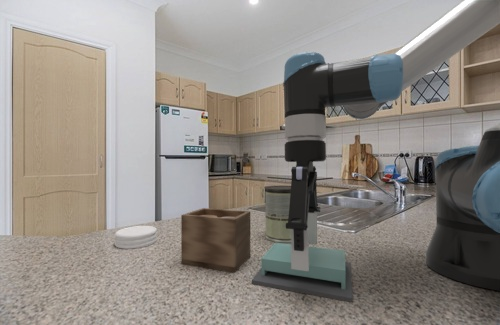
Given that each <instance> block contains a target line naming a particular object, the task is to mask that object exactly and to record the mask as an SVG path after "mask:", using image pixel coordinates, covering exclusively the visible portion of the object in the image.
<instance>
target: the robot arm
mask: <svg viewBox="0 0 500 325" xmlns="http://www.w3.org/2000/svg"><path fill="white" fill-rule="evenodd" d="M498 25H500V0H461V1H459V2H458V3H457V4H456V5H454V6H453V7H452V8H451V9H450V10H448V11H447V12H445V13H444V14H443V15H441V16H440V17H439V18H438V19H436V20H435V21H433V22H432V23H431V24H430V25H428V26H427V27H425V28H424V29H423V30H422V31H421V32H419V33H418V34H417V35H415V36H414V37H413V38H411V39H410V40H409V41H407V42H406V43H405V44H404V45H402V46H401V47H400V48H398V49H397V50H396V51H394V52H393V53H390V54H389V53H388V54H374V55H372V56H367V57H366V56H365V57H361V58H355V59H349V60H345V61H339V62H334V63H333V62H331V63H326V61H325V57H324V56H323V55H322V54H321V53H318V52H315V51H313V52H308V51H303V52H299V53H296V54H293V55H291V56H289V58H288V59H287V60H286V62H285V63H284V70H283V71H284V73H283V74H284V75H283V77H284V78H283V82H282V86H283V99H284V100H283V101H284V102H283V104H284V107H283V108H284V123H283V124H282V125H281V129H282V130H284V139H286V140H287V141H286V142H285V143H284V161H285V162H288V163H295V164H296V165H295V166H292V167H291V169H290V170H291V182H290V183H291V185H290V186H291V193H290V205H289V217H288V223H286V229H291V243H290V244H291V269H295V270H302V271H309V247H310V245H316V246H317V245H318V213H321V206H319V203H318V194H317V193H318V192H317V187H318V184H317V180H318V172H317V171H316V170H317V168H316V165H314V164H313V163H315V162H317V163H319V162H325V161H326V160H327V148H326V147H327V143H326V142H325V141H324V139H325V138H326V137H327V120H326V119H327V116H326V108H328V107H331V108H335V107H343V109H344V111H345V113H346V114H347V115H348V116H349V117H351V118H352V119H355V120H364V119H369V118H370V117H372V116H373V115H374V114H376V113H377V111H379V108H382V107H383V106H384V105H386V104H387V103H388V102H392V101H396V100H398V99H399V98H400V97H401V96H402V92H403V91H405V90H406V89H407V88H409V87H411V86H412V85H414V84H415V83H416V82H418V81H419V80H420V79H422V78H424V77H425V76H426V75H428V74H430V73H431V72H432V71H434V70H435V69H437V68H438V67H439V66H441V65H442V64H444V63H445V62H447V61H448V60H449V59H451V58H452V57H453V56H455V55H457V54H458V53H459V52H462V50H464V49H465V48H466V47H468V46H469V45H470V44H472V43H474V42H475V41H477V40H478V39H479V38H481V37H482V36H484V35H485V34H487V33H488V32H489V31H491V30H492V29H494V28H495V27H497V26H498ZM434 170H435V193H436V195H435V197H436V201H435V204H436V205H435V207H436V210H435V213H436V226H435V229H434V232H433V234H432V237H431V239H430V242H429V243H428V246H427V249H426V252H425V263H426V265H427V267H429V268H430V269H431V270H433V271H434V272H436V273H438V274H439V275H442V276H444V277H447V278H449V279H452V280H454V281H457V282H459V283H460V282H461V283H463V284H467V285H471V286H474V287H478V288H482V289H483V288H484V289H488V290H493V291H499V292H500V123H499V124H495V125H494V126H491V127H489V128H488V129H486V130H484V133H483V134H482V137H481V139H480V143H479V144H478V145H474V146H473V145H472V146H463V147H458V148H456V147H455V148H450V149H447V150H444V151H441V152H440V153H438V155H437V156H436V164H435V167H434Z"/></svg>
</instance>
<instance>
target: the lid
mask: <svg viewBox="0 0 500 325" xmlns="http://www.w3.org/2000/svg"><path fill="white" fill-rule="evenodd" d="M260 262H261V263H260V264H261V267H260V269H261V275H262V276H265V275H266V273H267V272H268V271H272V272H278V273H285V274H291V275H297V276H303V277H309V278H316V279H322V280H328V281H334V282H340V283H341V289H345V290H346V287H345V262H346V250H343V249H335V248H334V249H333V248H326V247H325V248H324V247H316V246H315V247H314V246H309V271H302V270H295V269H291V243H280V242H274V244H272V246H271V247H270V248H269V249H268V250H267V252H265V254H264V255H263V256H262V257H261V260H260Z"/></svg>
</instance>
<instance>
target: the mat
mask: <svg viewBox="0 0 500 325" xmlns="http://www.w3.org/2000/svg"><path fill="white" fill-rule="evenodd" d="M352 282H353V280H352V269H351V262H350V261H349V262H348V261H345V287H346V290H345V289H341V283H340V282H334V281H328V280H322V279H316V278H309V277H303V276H297V275H291V274H285V273H278V272H272V271H268V272H267V273H266V275H265V276H262V275H261V268H260V269H259V271H257V272H256V274H255V275H254V276H253V278H252V279H251V284H252V285H256V286H257V285H258V286H263V287H267V288H268V287H269V288H275V289H278V290H279V289H280V290H283V291H285V290H286V291H290V292H296V293H302V294H306V295H311V296H316V297H323V298H327V299H328V298H329V299H332V300H339V301H343V302H349V303H354V297H353V296H354V295H353V283H352Z"/></svg>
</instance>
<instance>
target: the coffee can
mask: <svg viewBox="0 0 500 325" xmlns="http://www.w3.org/2000/svg"><path fill="white" fill-rule="evenodd" d="M264 192H265V193H264V196H265V197H264V198H265V200H264V201H265V206H264V208H265V236H264V237H265V239H266V240H268V241H270V242H274V243H283V244H291V229H286V223H288V217H289V205H290V193H291V185H268V186H265V187H264Z"/></svg>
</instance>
